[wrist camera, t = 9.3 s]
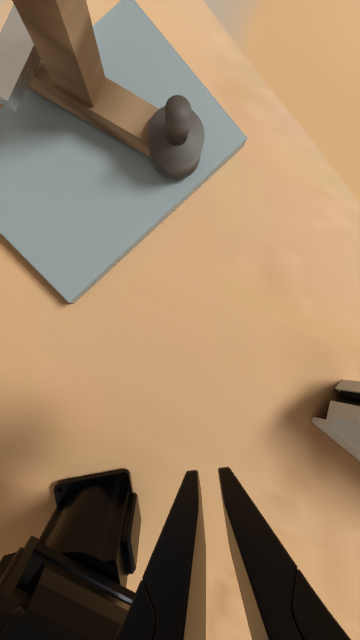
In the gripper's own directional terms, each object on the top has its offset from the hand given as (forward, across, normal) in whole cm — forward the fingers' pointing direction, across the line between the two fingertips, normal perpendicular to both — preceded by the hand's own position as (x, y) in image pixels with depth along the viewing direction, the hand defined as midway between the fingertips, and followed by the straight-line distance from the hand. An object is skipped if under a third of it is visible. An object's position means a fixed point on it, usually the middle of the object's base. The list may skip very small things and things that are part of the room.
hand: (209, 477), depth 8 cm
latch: (+13, +4, -20) cm, 24 cm away
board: (+14, +6, -17) cm, 23 cm away
